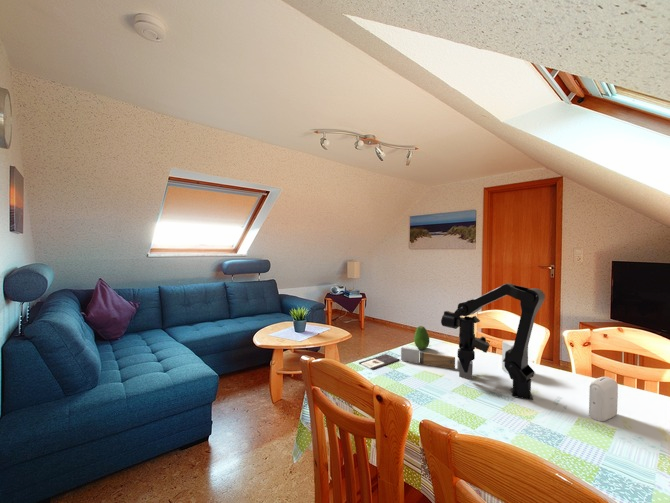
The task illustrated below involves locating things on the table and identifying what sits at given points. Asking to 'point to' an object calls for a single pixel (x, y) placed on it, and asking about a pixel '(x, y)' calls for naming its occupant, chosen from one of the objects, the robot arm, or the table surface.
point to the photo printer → (603, 398)
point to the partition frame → (414, 355)
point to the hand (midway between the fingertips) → (466, 368)
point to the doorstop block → (469, 373)
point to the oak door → (437, 360)
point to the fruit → (421, 338)
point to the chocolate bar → (379, 361)
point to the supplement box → (505, 347)
